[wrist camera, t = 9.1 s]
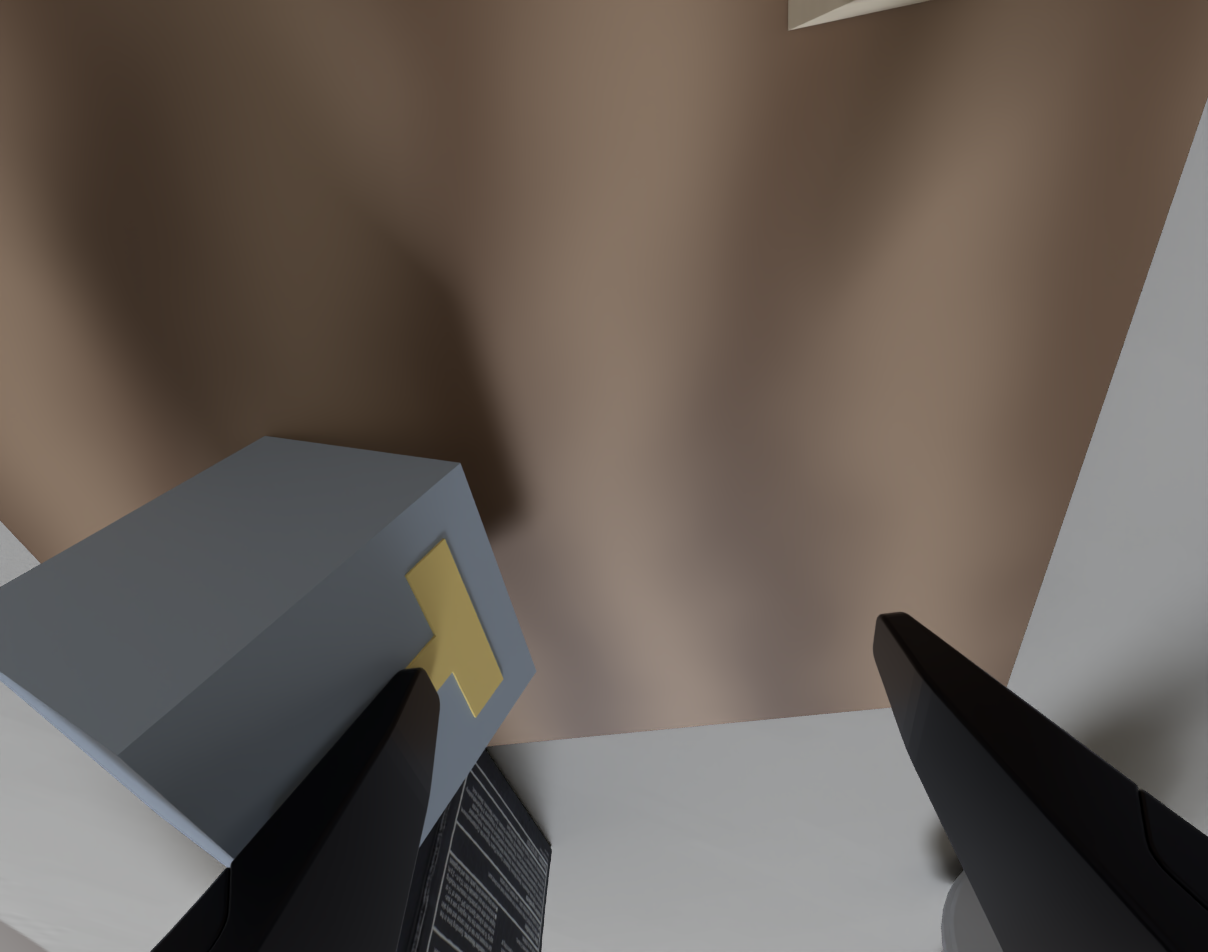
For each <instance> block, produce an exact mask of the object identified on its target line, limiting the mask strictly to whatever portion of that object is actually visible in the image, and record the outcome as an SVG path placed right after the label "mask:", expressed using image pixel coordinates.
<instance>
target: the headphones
mask: <svg viewBox="0 0 1208 952" xmlns="http://www.w3.org/2000/svg"><path fill="white" fill-rule="evenodd" d="M941 932H942V946H943V951H944V952H1003V951H1002V948H1001V946H1000V944H999V942H998V940H997V938H996V936H995V934H994V932H993V930H992V928H991V926H990V923H989V921H988V919H987V917H986V915H985V913H984V911H983V909H982V907H981V905H980V903H979V901H978V899H977V896H976V894H975V892H974V890H973V888H972V886H971V884H970V882H969V880H968V878H967V876H966V874H965V871H964V870H963V871H962V873H961V874H960V875H959V876H958V877H957V878H956V880H955V881H954V883H953V885H952V887H951V889H950V891H949V892H948V895H947V898H946V901H945V905H944V908H943V915H942V924H941Z"/></svg>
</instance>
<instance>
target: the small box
mask: <svg viewBox="0 0 1208 952" xmlns="http://www.w3.org/2000/svg"><path fill="white" fill-rule="evenodd" d="M551 853H552V849H551V847H550V846H549V844H548V843H547V841H546V840H545V838H544V836H543V835H542V833H541V832H540V831H539V829H538V827H537V826H536V824H535V823H534V822H533V820H532V819H531V817H530V815H529V814H528V813H527V811H526V809H525V808H524V807H523V805H522V804H521V802H520V801H519V799H518V797H517V796H516V795H515V793H514V792H513V790H512V789H511V787H510V785H509V784H508V783H507V781H506V780H505V778H504V777H503V775H502V774H501V772H500V771H499V769H498V768H497V766H496V765H495V763H494V762H493V760H492V758H491V757H490V755H489V754H488V753H487V751H486V750H485V749H484V751H483V753H482V754H481V756H480V757H479V759H478V760H477V762H476V763H475V765H474V766H473V768H472V769H471V771H470V772H469V774H468V775H467V777H466V778H465V780H464V781H463V783H462V784H461V786H460V787H459V789H458V790H457V792H456V793H455V795H454V796H453V798H452V799H451V801H450V802H449V804H448V805H447V807H446V808H445V810H444V811H443V813H442V814H441V816H440V817H439V819H438V820H437V822H436V823H435V825H434V826H433V828H432V829H431V831H430V832H429V834H428V835H427V837H426V838H425V840H424V841H423V843H422V844H421V846H420V847H419V850H418V855H417V859H416V864H415V868H414V873H413V878H412V882H411V887H410V891H409V896H408V900H407V905H406V910H405V914H404V919H403V923H402V928H401V932H400V937H399V942H398V946H397V951H396V952H541V948H542V934H543V927H544V915H545V904H546V895H547V886H548V877H549V869H550V862H551Z"/></svg>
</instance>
